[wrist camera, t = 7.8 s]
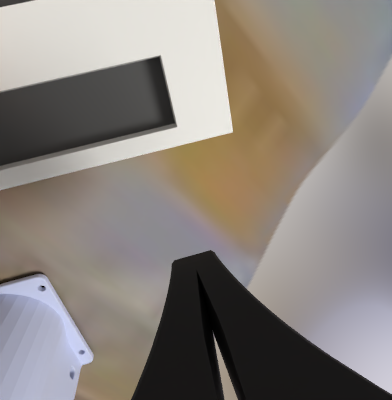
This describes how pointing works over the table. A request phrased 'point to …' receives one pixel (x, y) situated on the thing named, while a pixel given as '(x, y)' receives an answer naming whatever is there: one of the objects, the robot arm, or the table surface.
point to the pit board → (105, 82)
